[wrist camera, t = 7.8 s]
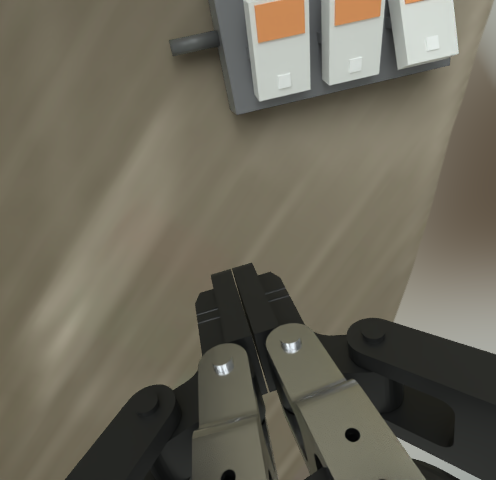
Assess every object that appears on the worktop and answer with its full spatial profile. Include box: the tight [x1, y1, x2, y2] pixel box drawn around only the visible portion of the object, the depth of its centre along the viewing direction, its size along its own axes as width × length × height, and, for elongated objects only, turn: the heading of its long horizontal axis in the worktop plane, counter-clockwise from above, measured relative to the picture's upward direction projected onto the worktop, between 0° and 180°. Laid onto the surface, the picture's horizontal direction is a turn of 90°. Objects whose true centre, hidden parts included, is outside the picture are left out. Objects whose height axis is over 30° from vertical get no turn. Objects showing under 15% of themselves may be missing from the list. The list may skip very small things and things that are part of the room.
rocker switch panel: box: [169, 0, 450, 115], centre depth 32 cm, size 12×24×4 cm, turn 101°
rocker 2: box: [388, 0, 459, 70], centre depth 31 cm, size 7×4×2 cm, turn 11°
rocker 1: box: [243, 0, 311, 101], centre depth 30 cm, size 7×4×2 cm, turn 10°
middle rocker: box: [321, 0, 385, 85], centre depth 30 cm, size 7×4×2 cm, turn 10°
